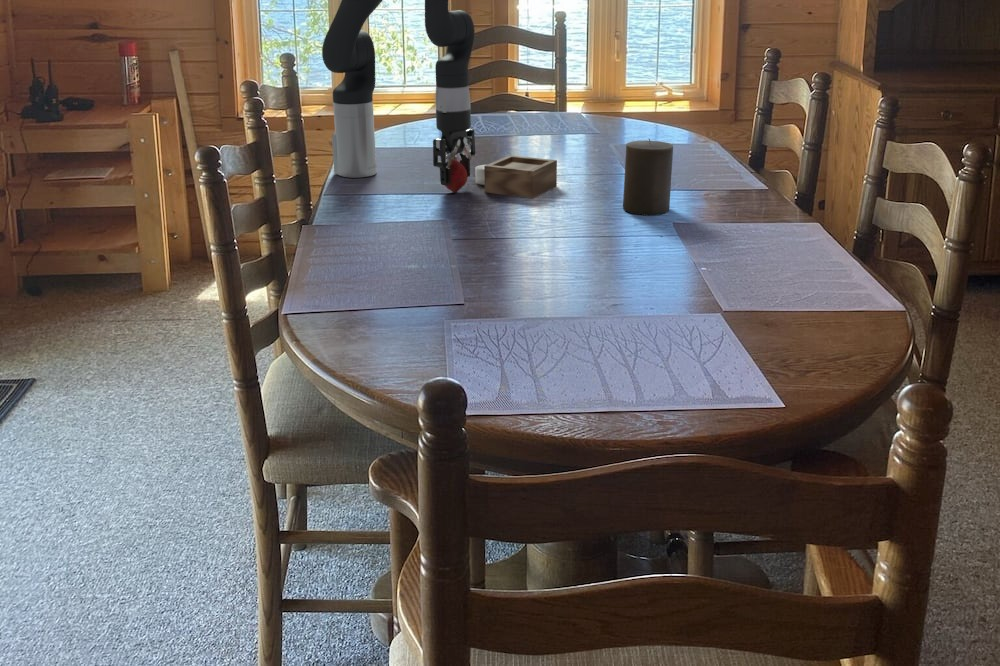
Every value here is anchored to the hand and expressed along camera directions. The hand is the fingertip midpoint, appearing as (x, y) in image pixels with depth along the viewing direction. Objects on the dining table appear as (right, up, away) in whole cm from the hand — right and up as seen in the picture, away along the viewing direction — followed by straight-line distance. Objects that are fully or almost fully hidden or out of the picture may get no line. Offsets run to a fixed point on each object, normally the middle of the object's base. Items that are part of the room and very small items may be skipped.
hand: (455, 180), depth 235 cm
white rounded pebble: (+7, +1, +10) cm, 12 cm away
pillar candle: (+41, -8, -13) cm, 43 cm away
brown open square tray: (+15, -1, +3) cm, 15 cm away
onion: (0, -3, +1) cm, 3 cm away
